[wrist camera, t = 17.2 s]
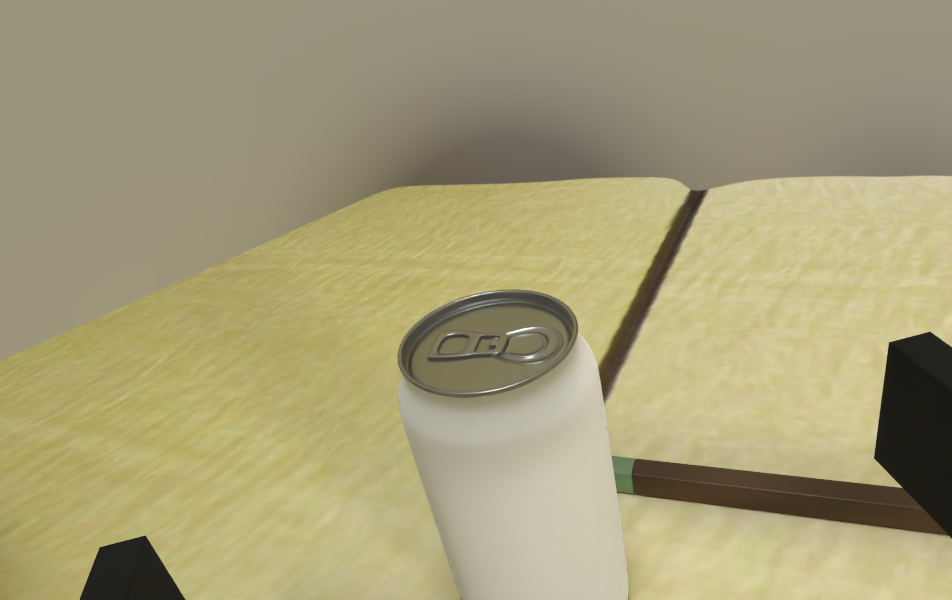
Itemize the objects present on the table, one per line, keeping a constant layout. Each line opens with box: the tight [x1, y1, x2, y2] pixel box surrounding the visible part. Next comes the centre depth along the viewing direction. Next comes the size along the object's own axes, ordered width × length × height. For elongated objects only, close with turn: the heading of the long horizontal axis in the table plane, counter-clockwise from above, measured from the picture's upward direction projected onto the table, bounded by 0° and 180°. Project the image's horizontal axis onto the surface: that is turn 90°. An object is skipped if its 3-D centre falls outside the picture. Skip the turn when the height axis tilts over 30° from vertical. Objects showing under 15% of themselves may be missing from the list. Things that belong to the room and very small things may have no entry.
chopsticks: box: [612, 456, 948, 535], centre depth 25 cm, size 24×12×1 cm, turn 70°
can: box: [398, 290, 629, 600], centre depth 25 cm, size 6×6×12 cm
